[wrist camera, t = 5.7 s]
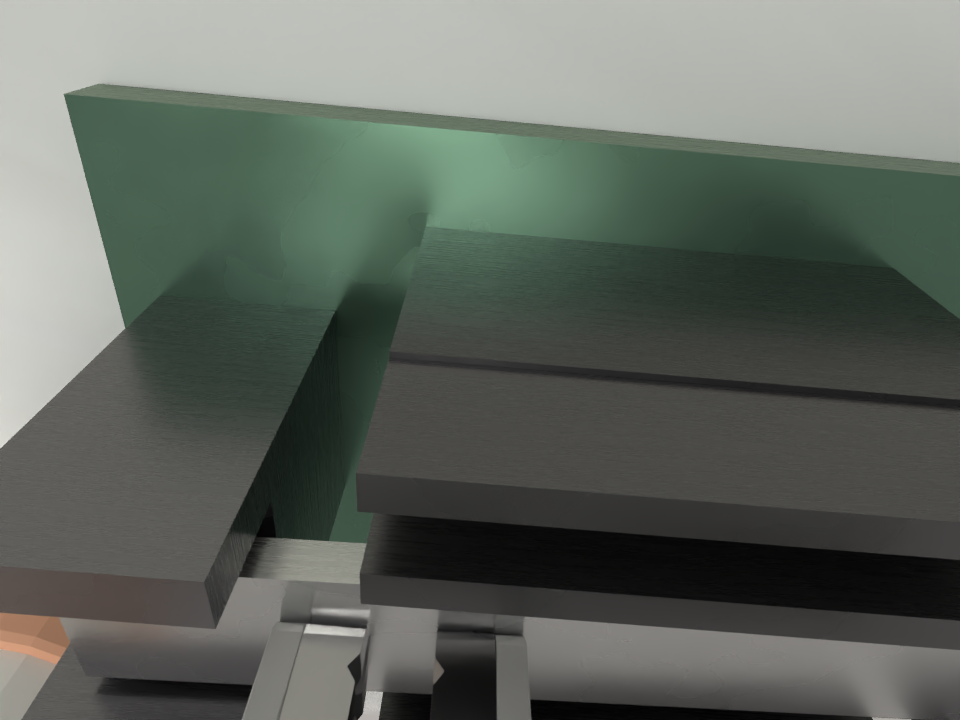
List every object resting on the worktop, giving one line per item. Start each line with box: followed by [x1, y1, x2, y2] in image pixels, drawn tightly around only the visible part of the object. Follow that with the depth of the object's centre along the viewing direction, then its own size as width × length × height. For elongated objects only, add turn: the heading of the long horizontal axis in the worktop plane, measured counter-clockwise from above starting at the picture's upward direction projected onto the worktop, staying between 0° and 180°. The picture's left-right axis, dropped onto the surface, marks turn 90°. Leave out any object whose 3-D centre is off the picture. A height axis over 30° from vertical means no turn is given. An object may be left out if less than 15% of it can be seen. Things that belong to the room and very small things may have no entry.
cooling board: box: [0, 84, 960, 720], centre depth 13 cm, size 24×14×9 cm, turn 85°
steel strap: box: [59, 537, 960, 720], centre depth 11 cm, size 18×3×1 cm, turn 85°
